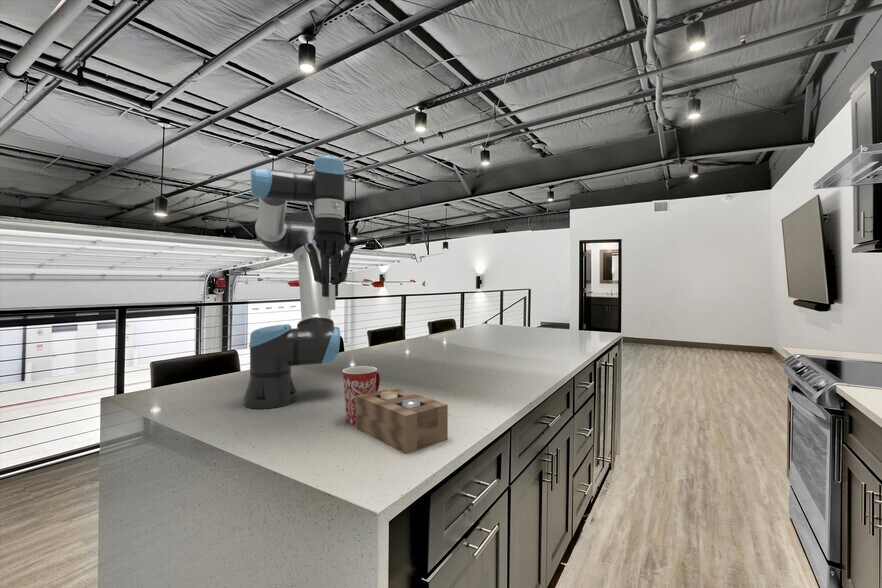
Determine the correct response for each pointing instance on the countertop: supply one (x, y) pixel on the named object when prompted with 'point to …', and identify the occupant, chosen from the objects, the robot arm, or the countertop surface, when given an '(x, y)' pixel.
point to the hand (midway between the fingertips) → (330, 309)
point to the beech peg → (389, 395)
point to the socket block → (402, 420)
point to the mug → (358, 387)
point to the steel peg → (410, 403)
